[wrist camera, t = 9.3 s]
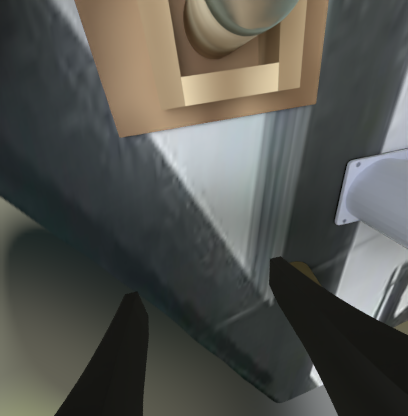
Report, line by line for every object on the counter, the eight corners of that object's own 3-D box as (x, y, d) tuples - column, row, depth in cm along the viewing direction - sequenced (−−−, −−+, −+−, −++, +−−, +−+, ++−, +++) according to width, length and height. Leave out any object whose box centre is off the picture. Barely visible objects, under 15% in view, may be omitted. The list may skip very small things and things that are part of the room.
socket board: (332, -129, 12) (405, -225, 8) (308, 103, 18) (344, 104, 14) (42, -112, 10) (-20, -220, 7) (122, 135, 16) (111, 145, 13)
